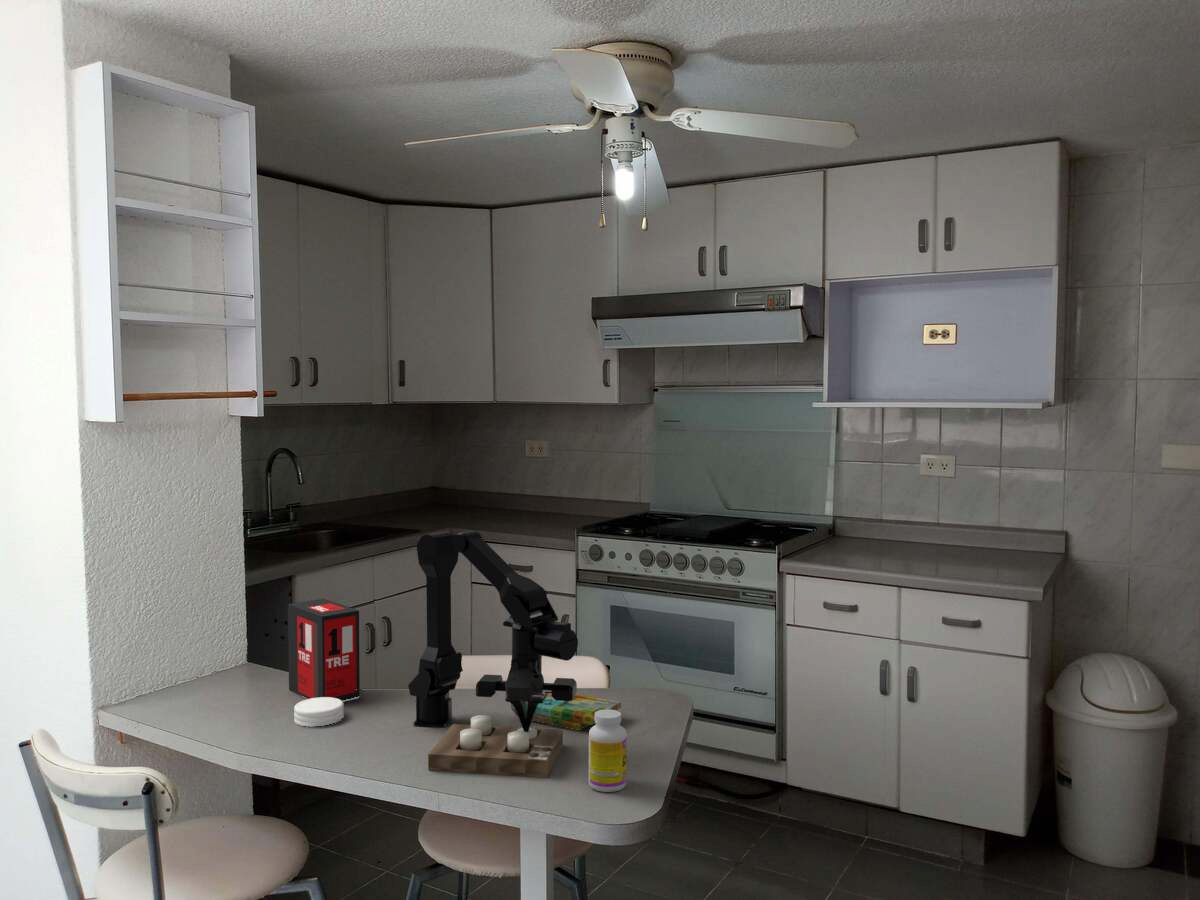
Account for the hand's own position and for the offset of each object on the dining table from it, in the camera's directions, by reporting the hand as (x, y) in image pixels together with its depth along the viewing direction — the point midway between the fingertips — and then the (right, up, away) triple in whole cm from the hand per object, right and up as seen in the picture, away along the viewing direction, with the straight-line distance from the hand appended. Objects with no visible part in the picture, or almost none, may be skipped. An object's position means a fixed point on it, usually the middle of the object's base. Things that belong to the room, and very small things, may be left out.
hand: (526, 731), depth 182 cm
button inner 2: (0, -3, 0) cm, 3 cm away
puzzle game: (+7, -3, +17) cm, 19 cm away
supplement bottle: (+15, -5, -17) cm, 23 cm away
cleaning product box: (-49, -2, +33) cm, 59 cm away
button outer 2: (-1, -1, -7) cm, 8 cm away
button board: (-5, -4, -4) cm, 7 cm away
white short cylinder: (-45, -3, +16) cm, 48 cm away
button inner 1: (-9, -1, +1) cm, 9 cm away
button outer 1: (-10, -1, -6) cm, 12 cm away
